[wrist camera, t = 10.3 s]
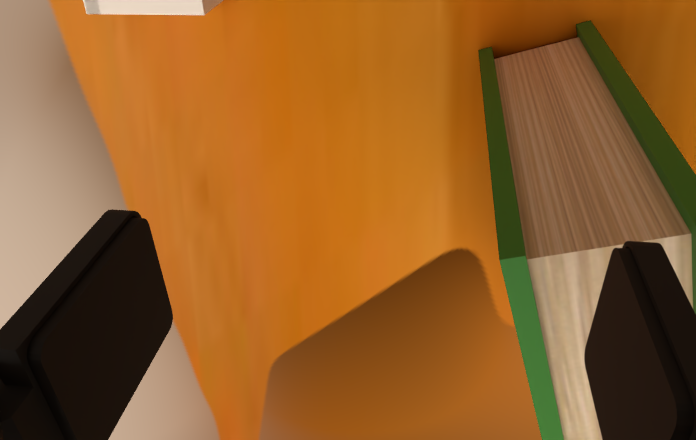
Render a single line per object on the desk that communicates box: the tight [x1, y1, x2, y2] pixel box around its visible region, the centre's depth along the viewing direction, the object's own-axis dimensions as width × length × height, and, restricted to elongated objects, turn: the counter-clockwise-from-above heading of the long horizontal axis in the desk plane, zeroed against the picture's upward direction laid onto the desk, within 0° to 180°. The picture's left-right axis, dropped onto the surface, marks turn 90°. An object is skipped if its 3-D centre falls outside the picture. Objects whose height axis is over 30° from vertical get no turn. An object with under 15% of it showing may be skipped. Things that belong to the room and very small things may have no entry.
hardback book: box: [478, 20, 696, 440], centre depth 34 cm, size 18×7×24 cm, turn 19°
